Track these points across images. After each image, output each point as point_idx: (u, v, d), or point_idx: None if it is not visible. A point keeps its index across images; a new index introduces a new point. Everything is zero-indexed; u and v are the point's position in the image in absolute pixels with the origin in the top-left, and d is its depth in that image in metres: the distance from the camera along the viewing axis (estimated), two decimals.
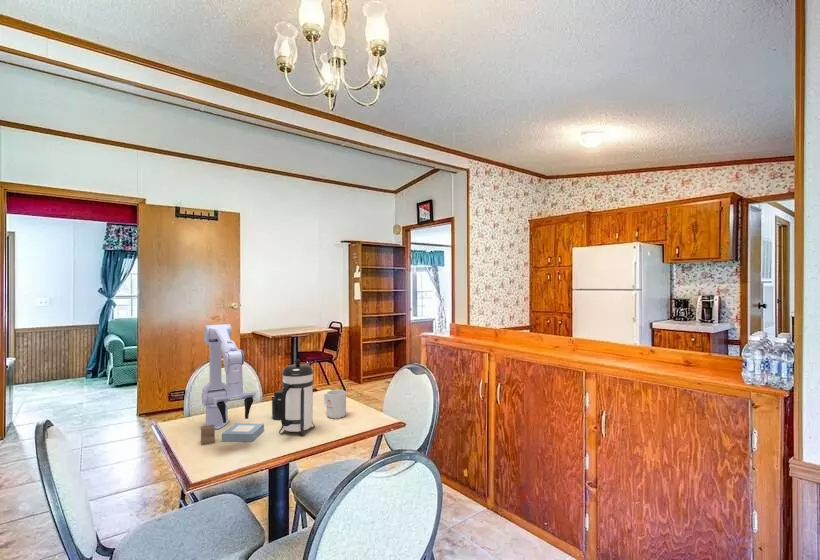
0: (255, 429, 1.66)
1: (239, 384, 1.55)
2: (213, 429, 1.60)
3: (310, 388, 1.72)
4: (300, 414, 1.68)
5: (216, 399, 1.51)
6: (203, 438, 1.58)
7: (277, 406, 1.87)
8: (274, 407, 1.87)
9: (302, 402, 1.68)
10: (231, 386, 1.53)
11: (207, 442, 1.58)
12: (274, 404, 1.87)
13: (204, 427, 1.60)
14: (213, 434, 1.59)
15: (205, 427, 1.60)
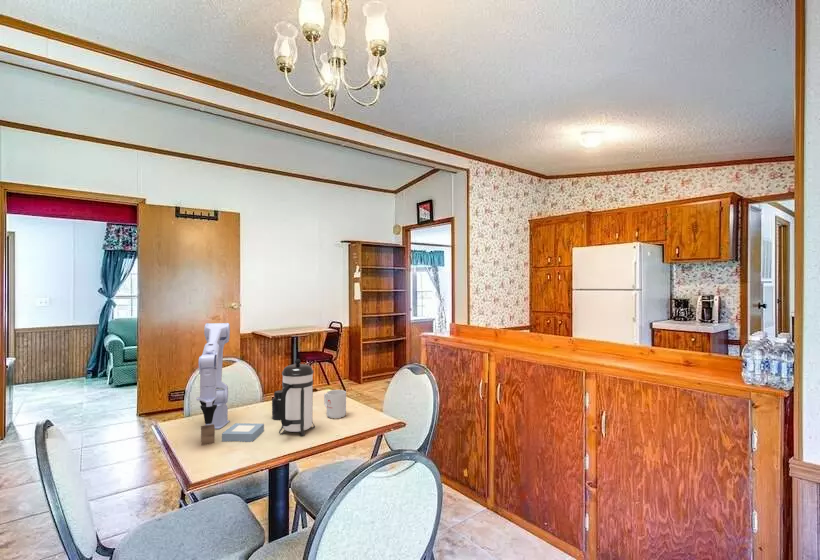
0: (255, 429, 1.66)
1: (201, 388, 1.58)
2: (213, 429, 1.60)
3: (310, 388, 1.72)
4: (300, 414, 1.68)
5: None
6: (203, 438, 1.58)
7: (277, 406, 1.87)
8: (274, 407, 1.87)
9: (302, 402, 1.68)
10: None
11: (207, 442, 1.58)
12: (274, 404, 1.87)
13: (204, 427, 1.60)
14: (213, 434, 1.59)
15: (205, 427, 1.60)
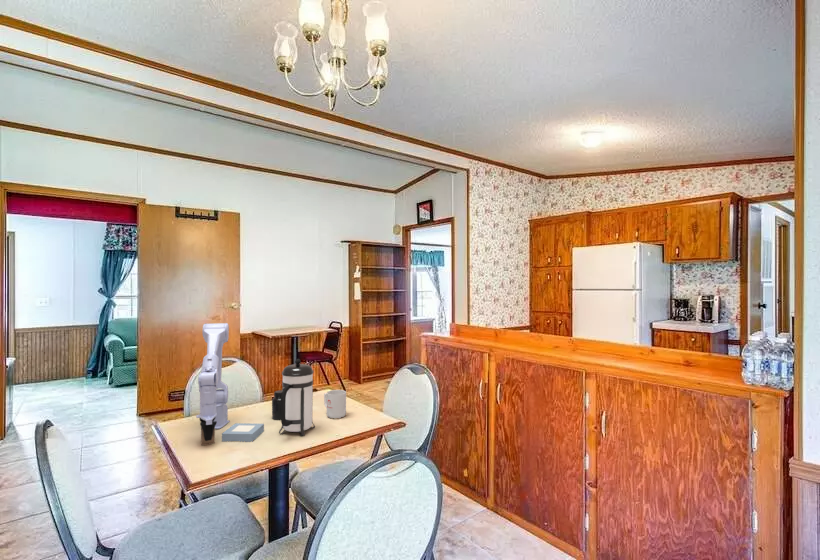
0: (255, 429, 1.66)
1: (200, 405, 1.58)
2: None
3: (310, 388, 1.72)
4: (300, 414, 1.68)
5: None
6: (203, 438, 1.58)
7: (277, 406, 1.87)
8: (274, 407, 1.87)
9: (302, 402, 1.68)
10: None
11: (207, 442, 1.58)
12: (274, 404, 1.87)
13: None
14: (213, 434, 1.59)
15: None
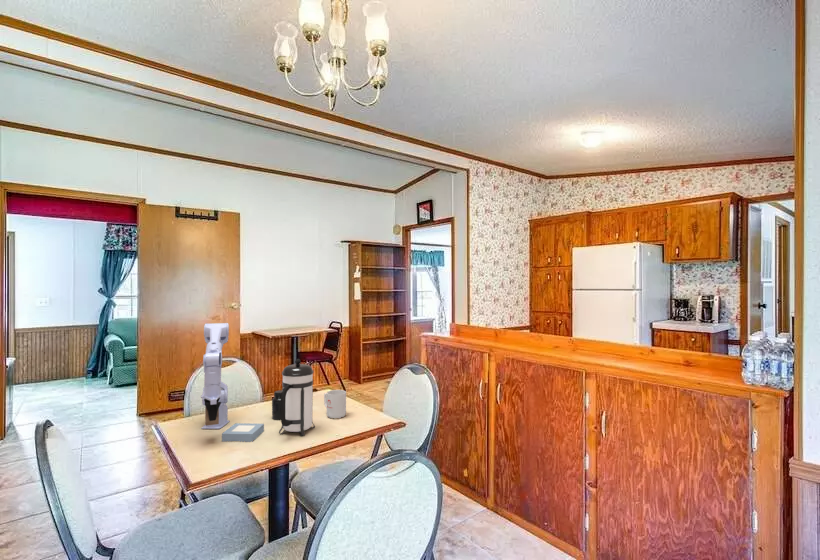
0: (255, 429, 1.66)
1: (205, 386, 1.59)
2: None
3: (310, 388, 1.72)
4: (300, 414, 1.68)
5: None
6: (207, 418, 1.59)
7: (277, 406, 1.87)
8: (274, 407, 1.87)
9: (302, 402, 1.68)
10: None
11: (211, 422, 1.59)
12: (274, 404, 1.87)
13: None
14: (217, 415, 1.60)
15: None
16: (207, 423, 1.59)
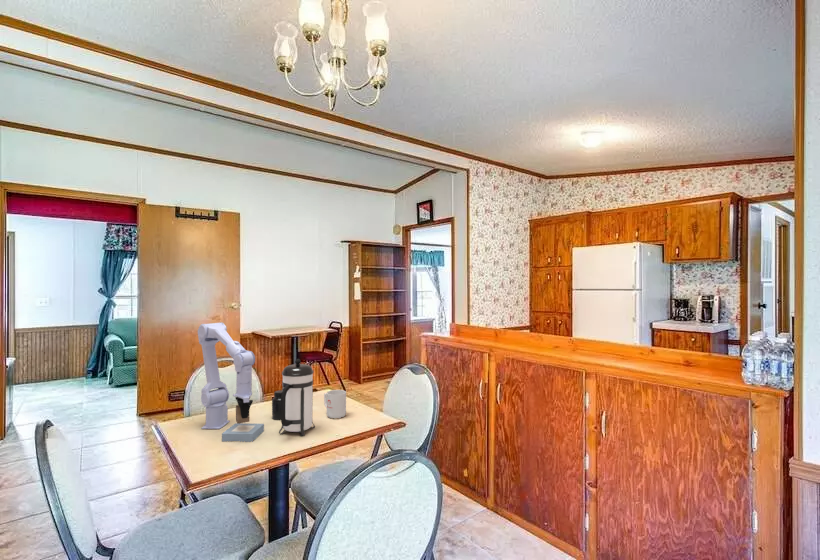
0: (255, 429, 1.66)
1: (237, 385, 1.65)
2: None
3: (310, 388, 1.72)
4: (300, 414, 1.68)
5: None
6: (238, 416, 1.64)
7: (277, 406, 1.87)
8: (274, 407, 1.87)
9: (302, 402, 1.68)
10: None
11: (242, 420, 1.65)
12: (274, 404, 1.87)
13: None
14: None
15: None
16: (238, 421, 1.64)
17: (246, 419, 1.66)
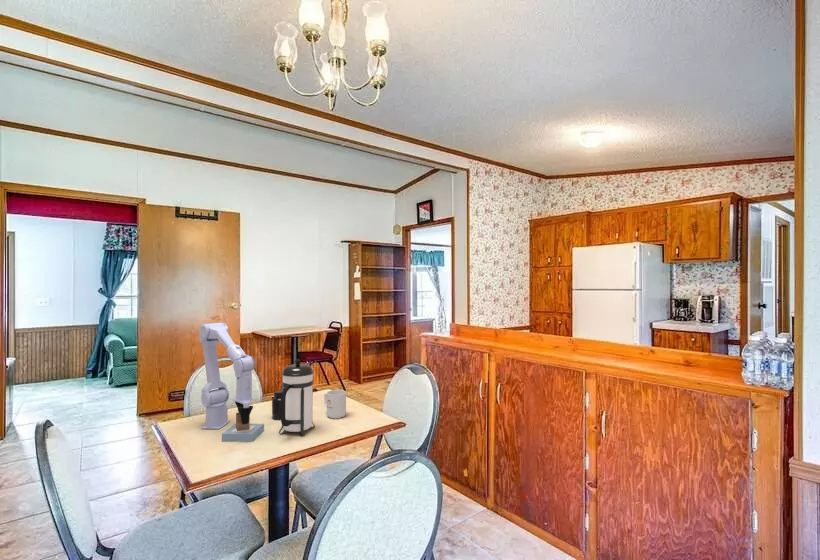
0: (255, 429, 1.66)
1: (237, 390, 1.65)
2: None
3: (310, 388, 1.72)
4: (300, 414, 1.68)
5: None
6: (238, 424, 1.64)
7: (277, 406, 1.87)
8: (274, 407, 1.87)
9: (302, 402, 1.68)
10: None
11: (242, 428, 1.65)
12: (274, 404, 1.87)
13: (239, 414, 1.66)
14: None
15: None
16: (239, 429, 1.64)
17: (246, 427, 1.66)
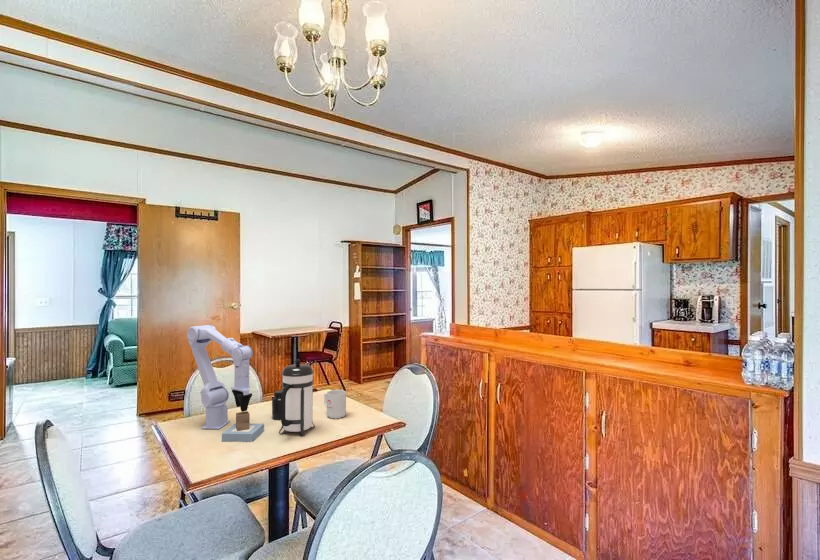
0: (255, 429, 1.66)
1: (236, 378, 1.70)
2: (248, 416, 1.66)
3: (310, 388, 1.72)
4: (300, 414, 1.68)
5: None
6: (238, 424, 1.64)
7: (277, 406, 1.87)
8: (274, 407, 1.87)
9: (302, 402, 1.68)
10: None
11: (242, 428, 1.65)
12: (274, 404, 1.87)
13: (239, 414, 1.66)
14: (248, 420, 1.66)
15: (240, 414, 1.66)
16: (239, 429, 1.64)
17: (246, 427, 1.66)
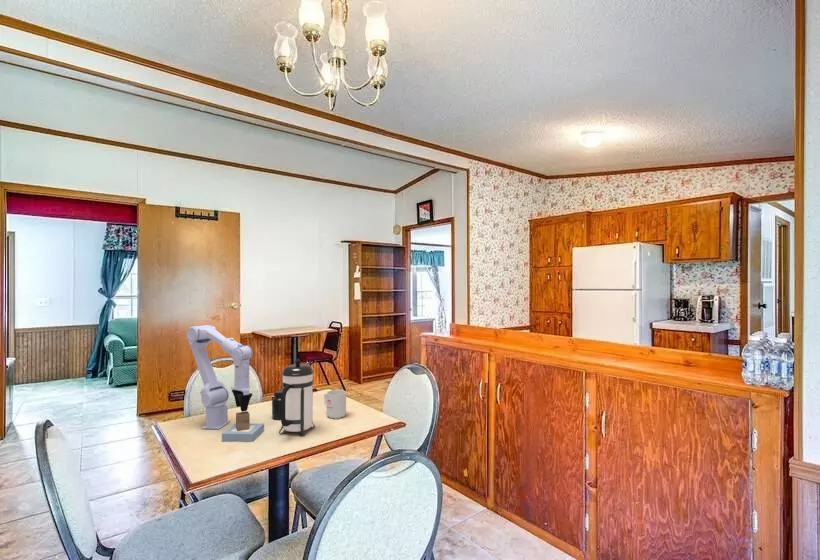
0: (255, 429, 1.66)
1: (236, 378, 1.70)
2: (248, 416, 1.66)
3: (310, 388, 1.72)
4: (300, 414, 1.68)
5: None
6: (238, 424, 1.64)
7: (277, 406, 1.87)
8: (274, 407, 1.87)
9: (302, 402, 1.68)
10: None
11: (242, 428, 1.65)
12: (274, 404, 1.87)
13: (239, 414, 1.66)
14: (248, 420, 1.66)
15: (240, 414, 1.66)
16: (239, 429, 1.64)
17: (246, 427, 1.66)
